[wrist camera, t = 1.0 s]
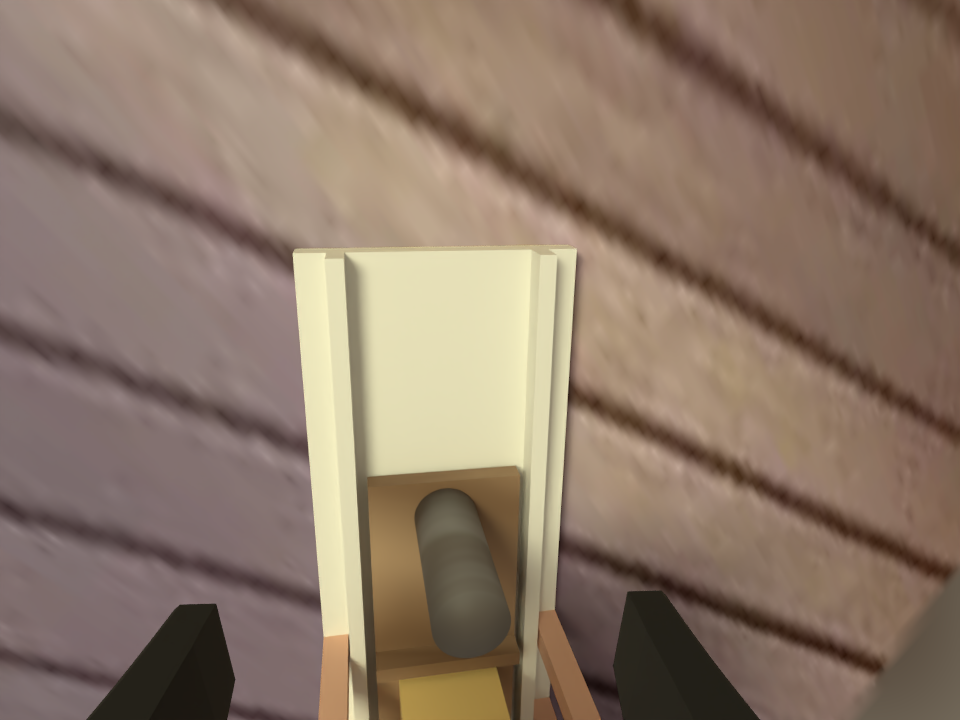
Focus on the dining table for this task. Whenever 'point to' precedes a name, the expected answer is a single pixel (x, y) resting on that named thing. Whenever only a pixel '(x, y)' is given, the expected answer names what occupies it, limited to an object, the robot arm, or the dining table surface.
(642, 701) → the robot arm
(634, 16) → the dining table surface
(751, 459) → the dining table surface
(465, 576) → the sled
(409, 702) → the block
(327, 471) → the track
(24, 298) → the dining table surface
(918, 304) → the dining table surface
